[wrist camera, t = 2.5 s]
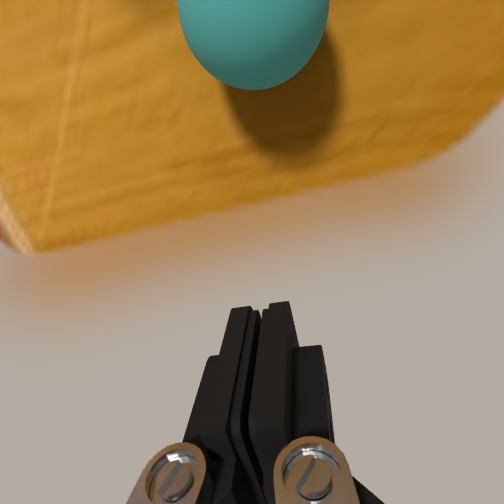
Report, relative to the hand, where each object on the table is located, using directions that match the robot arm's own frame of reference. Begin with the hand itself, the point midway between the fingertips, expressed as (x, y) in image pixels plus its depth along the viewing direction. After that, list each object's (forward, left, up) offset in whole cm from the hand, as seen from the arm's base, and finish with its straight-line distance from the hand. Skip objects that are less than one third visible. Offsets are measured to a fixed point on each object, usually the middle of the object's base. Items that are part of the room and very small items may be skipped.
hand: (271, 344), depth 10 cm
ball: (0, -9, -9) cm, 13 cm away
